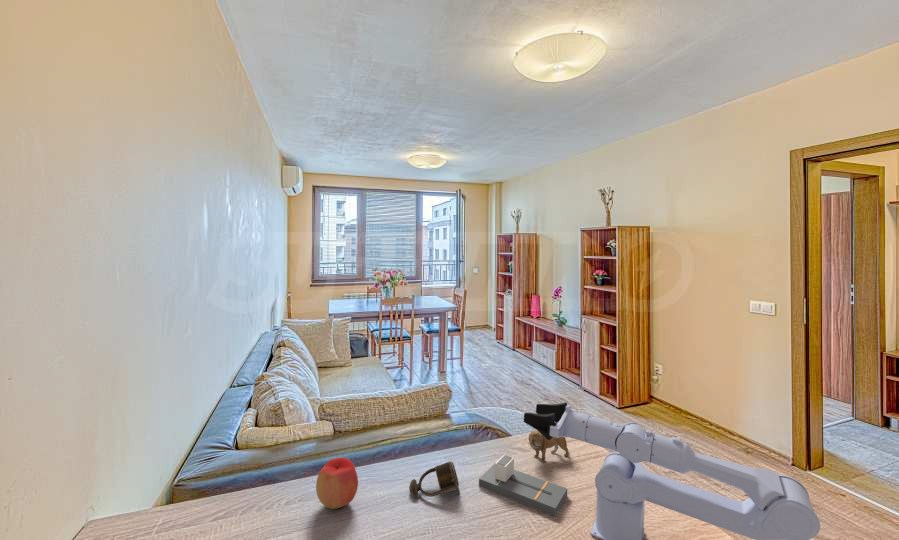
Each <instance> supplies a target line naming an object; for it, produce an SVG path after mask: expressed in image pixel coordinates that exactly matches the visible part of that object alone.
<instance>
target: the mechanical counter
mask: <svg viewBox="0 0 899 540" xmlns="http://www.w3.org/2000/svg"><path fill="white" fill-rule="evenodd" d="M456 471H457V470H456V467H455V465H454V462H453V461H451V460H449V461H448V462H445V463H442V464H437V465H436V466H435V467H432V468H429V469H427V470H426V471H424V472H423V473H422V475H421V476H420V478H419V481H418V482H417V480H416V479H412V480H411V481H410V483H409V488H408V489H409V493H410V495H411V496H412V497H413V498H414V499H415V498H418V497H419V492H420V493H421V494H423V495H424V496H425V497H429V498H433V497H437V496H440V495H443V494H445V493H449V492H452V491H455V490H456V492H457V495H461V491H460V488H459V485H460V483H459V479H458V478H459V477H458V474H457V472H456ZM434 472H435V474H436V477H437V483H438V486H439V490H437V491H435V492H427V491H425V490H424V489H423V488H422V483H423V480H424V479H425V477H427V476H428V475H429V474H432V473H434Z"/></svg>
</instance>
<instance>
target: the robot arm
mask: <svg viewBox="0 0 899 540" xmlns="http://www.w3.org/2000/svg"><path fill="white" fill-rule="evenodd" d="M535 407H536V408H535V412H524V413H523V422H524V423H525V424H526V425H528V426H530V427H531V428H533V429H535V431H539V432H540V433H541V434H542V435H543V436H544V437H545V438H546V439H547V440H551V439H552V437H556V438H559V437H565V438H571V439H575V440H577V441H580V442H584V443H587V444H589V445H593V446H597V447H600V448H604V449H607V450H610V451H614V452H611V453H609V454H608V453H607V455H606V456H605V457H604V461H603V464H602V466H601V468H600V470H599V471H598V472H597V474H596V476H595V477H594V478H595V479H594V484H595V487H596V504H595V505H596V507H595V508H596V509H595V520H594V523H593V524H592V527H591V529H590V531H589V532H590V536H593V537H595V538H598V539H600V540H643V538H645V507H646V506H645V502H648V503H652V504H654V505H657V506H659V507H663V508H666V509H669V510H671V511H673V512H677V513H679V514H682V515H685V516H688V517H691V518H693V519H696V520H698V521H701V522H704V523H707V524H711V525H713V526H715V527H717V528H721V529H724V530H726V531H730V532H732V533H735V534H738V535H740V536H743V537H746V538H749V539H751V540H812V539H813V538H815V537H816V536H818V534H819V532H820V530H821V522H820V521H821V520H820V519H819V517H818V514H816V512H815V510H814V507H813V505H812V502H811V500H810V494H809V492H808V490H807V488H806V487H805V485H803V484H802V483H801V482H800V481H799V480H797V479H796V478H794V477H792V476H789V475H786V474H779V472H776V471H774V470H771V469H767V468H759V467H752V466H749V465H744V464H740V463H737V462H735V461H734V462H733V461H728V460H725V459H721V458H717V457H714V456H711V455H707V454H702V453H698V452H695V451H694V450H693V449H692V447H691V446H690V445H689V444H688V443H686V442H684V441H682V440H681V438H680V437H677V436H673V438H670V437H668V436H664V435H661V434H658V433H654V432H653V430H650V429H644V428H643V427H642V426H641V425H639V424H638V422H635V421H630V422H626V423H619V422H616V421H615V422H614V421H612V420H608V419H603V418H601V417H598V416H597V417H596V416H592V415H589V414H585V413H582V412H581V413H580V412H579V410H578V409H573V408H572V405H571V404H568V403H567V402H561V403H555V404H554V403H553V404H550V403H548V404H547V403H537V404H536V406H535ZM641 462H647V463H650V464H652V465H657V466H659V467H662V468H665V469H668V470H671V471H673V472H676V473H679V474H684V475H685V474H687V473H690V472H695V473H698V474H701V475H702V476H705V477H708V478H710V479H713V480H716V481H718V482H720V483H723V484H726V485H729V486H730V487H731V486H732V487H734V488H737V489H739V490H741V491H743V492H744V493H745V494H746V495H747V496H748V498H746V499H745V500H743V501H740V500H737V499H734V498H730V497H728V496H724V495H721V494H717V493H716V492H711V491H709V490H705V489H703V488H699V487H696V486H693V485H690V484H687V483H684V482H681V481H678V480H674V479H672V478H668V477H665V476H661V475H660V474H656V473H652V472H650V471H648V470H647V469H646V468H645V467H644V466H643V465H642V463H641Z"/></svg>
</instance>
